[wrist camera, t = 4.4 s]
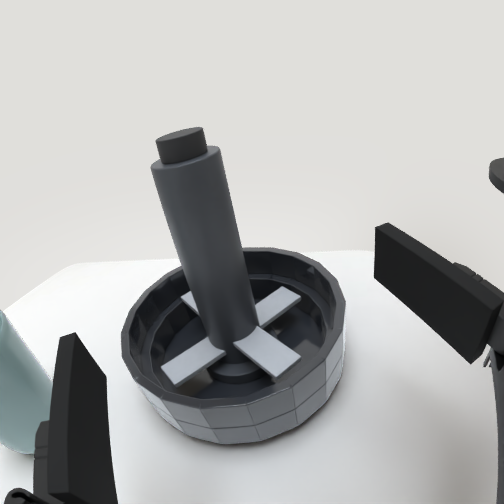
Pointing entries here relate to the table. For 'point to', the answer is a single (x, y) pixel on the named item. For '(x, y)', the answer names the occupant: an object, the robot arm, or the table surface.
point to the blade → (216, 269)
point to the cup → (21, 391)
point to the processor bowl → (251, 393)
